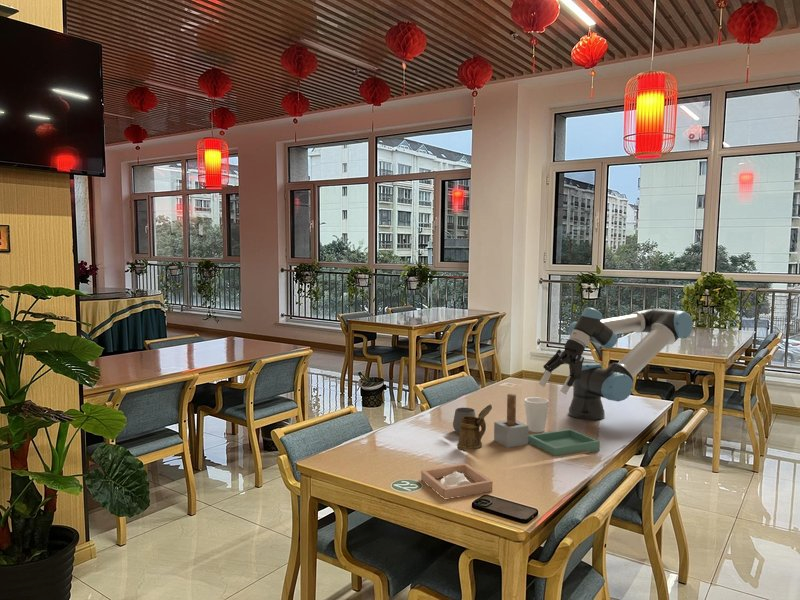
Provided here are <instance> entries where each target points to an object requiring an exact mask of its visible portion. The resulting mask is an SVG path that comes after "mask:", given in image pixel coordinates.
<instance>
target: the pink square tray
mask: <svg viewBox="0 0 800 600" xmlns="http://www.w3.org/2000/svg"><path fill="white" fill-rule="evenodd" d="M454 471H457V472H458V473H461V474H462V473H465V474H466V475H465V474H464V475H465V476H467V475H468V476H469V477H468V476H467V477H468V478H470V477H471V478H472V479H473V481H474V480H475V481H476V482H475V481H474V482H470V483H471V484H465V485H460V486H454V487H449V488H446V487H445V486H443V485H442V484H441V483H440V481H439V480H437V479H438V478H437V477H443V476H447V475H450V474H452V473H453V472H454ZM420 472H421V473H420V478H421V479H422V480H423V481H424V482H426V483H427V484H428V485H429V486H431V487H432V488H433V489H434V490H435V491H437V492H438V493H439V494H440V495H441V496H443V497H444V498H451V497H457V496H464V495H469V496H472V495H471V494H474V495H478V494H477V493H480V494H484V493H483V492H485V493H489V491H490V492H493V483H494V482H493V480H492V479H490V478H489V477H487V476H486V475H485V474H483V473H481V472H480V471H479V470H477V469H476V468H474V467H472V466H471V465H470V464H468V463H466V462H464V463H458V464H452V465H447V466H440V467H434V468H429V469H422V470H420ZM435 478H437V479H435ZM443 478H444V477H443ZM471 478H470V479H471ZM472 479H471V480H472ZM422 480H421V481H422ZM423 481H422V482H423ZM424 482H423V483H424ZM429 486H428V487H429ZM435 491H434V492H435ZM464 497H465V496H464ZM444 498H443V499H444Z"/></svg>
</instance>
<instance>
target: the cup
mask: <svg viewBox="0 0 800 600" xmlns="http://www.w3.org/2000/svg"><path fill="white" fill-rule="evenodd" d="M464 416H474V417H477V415H476V410H475V409H474V408H473V407H472V408H471V407H458V408H455V411H454V417H453V421H452V427H453V430H454V431H455V433H456V435H460V428H461V426H460V423H461V421H462V417H464Z"/></svg>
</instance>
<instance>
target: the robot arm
mask: <svg viewBox="0 0 800 600" xmlns="http://www.w3.org/2000/svg"><path fill="white" fill-rule="evenodd" d="M693 325H694V323H693V319H692V317H691V314H689V313H688V312H686V311H683V310H679V309H678V310H677V309H676V310H675V309H666V308H656V307H655V308H647V309H643V310H638V311H633V312H632V313H630V314H627V315H621V316H615V317H609V318H603V315H602V313H601V311H599V310H597V309H596V308H593V307H585V308H584V309H583V311H582V313H581V314H580V315H579V318H578V320H577V321H573V322H571V323H570V324H569V326H568V329H567V331H568V335H569V337H568V339H567V340H566V342H565V344H564V350H563V351H562V350H561V349H558V350H557V351H556V352H555V354H554V355H553V356H552V357H550V358H549V360H548V361H546V363H545V364H544V365H543V369H544V373H543V374H542V376H541V379H540V380H539V382H538V384H539V385H540V386H541V387H543V388H545V387H546V385H547V383H548V381H549V379H550V377H552V374H553V371H554V370H556V369H557V368H559V367H560V366H561V365H568V367H569V375H568V376H567V377H566V380H565V381H564V383H563V385H562V387H561V389H560V392H561V393H562V394H564V395H567V394H568V392H569V390H570V388H571V387H572V386H573V387H572V388H573V389H572V393H573V394H572V398H571V399H572V400H571V402H570V405H569V407H568V415H569V416H571V417H573V418H576V419H579V420H580V419H581V420H589V421H591V420H593V421H595V420H601V419H604V418H605V409H604V406H603V402H602V399H601V398H604V399H606V400H608V401H614V402H622V401H625V400H626V399H628V398H629V397H630V396H631V394H632V392H633V391H632V390H633V388H634V383H635V379H634V378H635V377H636V376H637V375H638V374H639V373H640V372H641V371H642V370H643V369H644V368H645V367H646V366H647V365H648V364H649V363H650V362H651V361H652V360H653V359H654V358H655V357H656V356H657V355H658V354H659V353H661V351H662V350H663V349H665V347H666V346H667V345H669V346H670V345H673V344H674V343H675V342H676V341H678V340H679V339H687V338H689V337H690V335H691V334H692V332H693V330H694V329H693ZM632 332H634V333H638V334H639V333H647V334H646V335H645V336H644V337H643V338H642V339H641V340H640V341H639V342H638V343H637V344H635V346H633V348H632V349H631V350H630V351H628V353H626V354H625V355H624V356H623V357H622V358H621V359H620V360H619V361H618V362H612V363H610V364H609V365H608V366H607V368H603V366H602V363H598V362H585V363H584V360H585V356H583V353H584V351H585V348H586V347H587V345H588V344H589V343H590V342H591V343H595V344H599V345H600V346H601V347H603V348H604V349H608V350H609V349H612V348H613V347H615V346H616V344H617V343H618V340H619V337H618V334H626V333H632Z"/></svg>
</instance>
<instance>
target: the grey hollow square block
mask: <svg viewBox="0 0 800 600" xmlns="http://www.w3.org/2000/svg"><path fill="white" fill-rule="evenodd" d="M493 424H494V425H493V441H495V442H497V443H498V444H500V445H502V446H503V447H506V448H513V447H520V446H526V445H529V442H528V435H529V430H528V425H527V423H526V424H525V423H524V422H521V421H518V419H516V426H508V425H507V419H506V420H498V421H494V422H493Z"/></svg>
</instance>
